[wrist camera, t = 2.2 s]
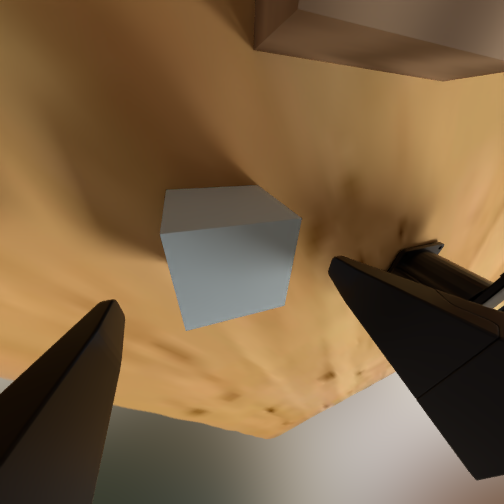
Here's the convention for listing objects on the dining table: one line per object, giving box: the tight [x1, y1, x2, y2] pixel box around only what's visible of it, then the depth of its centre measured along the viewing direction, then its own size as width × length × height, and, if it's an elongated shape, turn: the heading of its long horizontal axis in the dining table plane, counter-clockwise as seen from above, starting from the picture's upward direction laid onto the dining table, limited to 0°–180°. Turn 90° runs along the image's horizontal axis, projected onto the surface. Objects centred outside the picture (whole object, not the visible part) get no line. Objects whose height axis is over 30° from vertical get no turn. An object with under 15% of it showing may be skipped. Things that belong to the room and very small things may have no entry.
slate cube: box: [160, 185, 302, 331], centre depth 10 cm, size 5×5×5 cm
